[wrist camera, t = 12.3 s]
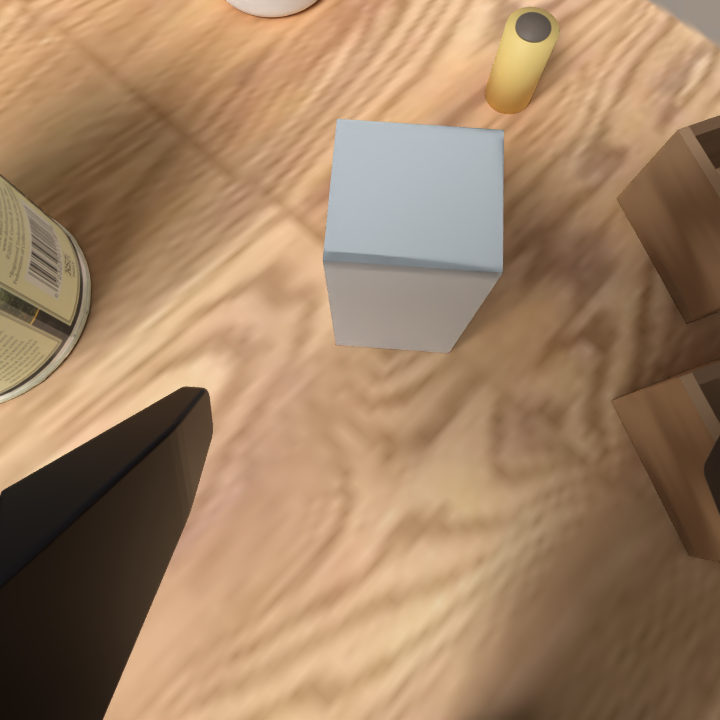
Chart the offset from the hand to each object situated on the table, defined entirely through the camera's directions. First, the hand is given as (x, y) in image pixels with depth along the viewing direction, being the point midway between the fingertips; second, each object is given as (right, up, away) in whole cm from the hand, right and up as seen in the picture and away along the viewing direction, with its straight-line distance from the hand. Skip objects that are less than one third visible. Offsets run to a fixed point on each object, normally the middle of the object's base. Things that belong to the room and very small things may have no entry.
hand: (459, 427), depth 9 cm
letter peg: (+6, +15, +18) cm, 24 cm away
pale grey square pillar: (0, +4, +15) cm, 16 cm away
